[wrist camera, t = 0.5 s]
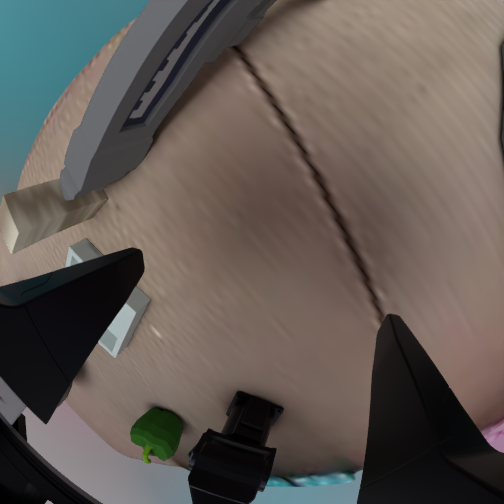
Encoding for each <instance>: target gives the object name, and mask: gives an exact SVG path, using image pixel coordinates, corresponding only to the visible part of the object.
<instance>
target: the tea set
mask: <svg viewBox="0 0 504 504" xmlns="http://www.w3.org/2000/svg"><path fill="white" fill-rule="evenodd" d="M502 55H503V69H504V43H503V47H502ZM501 139H502V144H503V149H504V113H503V128H502V138H501Z"/></svg>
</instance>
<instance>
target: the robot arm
mask: <svg viewBox="0 0 504 504" xmlns="http://www.w3.org/2000/svg"><path fill="white" fill-rule="evenodd" d="M144 269H145V267H144V260H143V253H142V251H141V250H140V249H137V248H128V249H125V250H121V251H118V252H114V253H111V254H108V255H104V256H101V257H98V258H94V259H91V260H88V261H85V262H81V263H78V264H75V265H72V266H69V267H65V268H62V269H59V270H56V271H54V272H50V273H47V274H44V275H40V276H37V277H34V278H30V279H27V280H23V281H20V282H16V283H12V284H9V285H5V286H1V287H0V504H45V503H46V501H47V500H49V501H51V502H52V503H53V504H102V503H101V502H99V501H98V500H96V499H95V498H93V497H92V496H90V495H89V494H88V493H86V492H85V491H83V490H82V489H81V488H79V487H78V486H77V485H75V484H74V483H73V482H71V481H70V480H69V479H68V478H66V477H65V476H64V475H62V474H61V473H60V472H59V471H58V470H57V469H55V468H54V467H53V466H52V465H51V464H50V463H48V462H47V461H46V460H45V459H44V458H43V457H42V456H41V455H40V454H39V453H38V452H37V451H35V449H34V448H32V447H31V446H30V445H29V444H28V443H27V435H26V423H25V416H24V415H23V414H22V412H23V411H24V409H25V408H26V407H28V408H29V409H30V410H31V411H32V412H33V413H34V414H35V415H36V416H37V417H38V418H39V419H40V420H41V421H43V422H44V423H45V424H47V423H48V421H49V420H50V418H51V416H52V414H53V413H54V411H55V409H56V408H57V406H58V404H59V403H60V401H61V399H62V398H63V396H64V394H65V393H66V391H67V389H68V388H69V386H70V383H72V381H73V379H74V378H75V376H76V375H77V373H78V372H79V370H80V368H81V367H82V365H83V364H84V362H85V361H86V359H87V358H88V356H89V355H90V353H91V352H92V350H93V349H94V347H95V346H96V344H97V343H98V341H99V340H100V339H101V337H102V336H103V334H104V333H105V331H106V330H107V328H108V327H109V326H110V324H111V323H112V321H113V320H114V319H115V317H116V316H117V314H118V313H119V312H120V310H121V309H122V308H123V306H124V305H125V303H126V302H127V300H128V298H129V297H130V295H131V293H132V292H133V290H134V288H135V287H136V285H137V283H138V282H139V280H140V278H141V277H142V275H143V273H144ZM283 410H284V409H283V408H282V407H279V406H276V405H274V404H271V403H268V402H265V401H263V400H260V399H258V398H255V397H252V396H250V395H247V394H245V393H242V392H237V393H236V395H235V397H234V399H233V401H232V403H231V405H230V407H229V409H228V411H227V413H226V415H227V416H229V417H228V419H227V421H226V423H225V426H224V428H223V430H222V432H221V433H219V432H216V431H213V430H212V429H208V430H207V432H205V433H203V435H202V437H201V439H200V440H199V442H198V443H197V444H196V446H195V447H194V448H193V449H192V450H191V451H190V452H189V454H188V457H189V459H190V461H189V469H191V472H190V474H189V476H188V481H189V487H190V492H191V497H192V502H193V504H250V503H251V502H252V501H253V500H254V499H255V496H256V494H257V491H261V492H263V491H264V489H265V487H266V484H267V482H268V479H269V476H270V473H271V470H272V466H273V462H274V458H275V454H276V450H277V449H276V448H269V447H265V445H266V442H267V439H268V436H269V432H270V429H271V426H272V425H273V424H274V423H275V422H276V420H277V419H278V418H279V417H280V415H281V414H282V413H283ZM357 504H504V453H502V452H499V451H497V450H496V449H494V448H493V447H492V446H491V445H490V444H489V443H488V442H487V441H486V439H485V438H484V436H483V435H482V433H481V432H480V431H479V429H478V428H477V426H476V425H475V424H474V422H473V421H472V419H471V418H470V417H469V415H468V414H467V412H466V411H465V410H464V408H463V407H462V405H461V404H460V402H459V401H458V399H457V398H456V396H455V395H454V393H453V391H452V390H451V388H449V385H448V384H447V382H446V381H445V379H444V378H443V376H442V375H441V373H440V372H439V370H438V369H437V367H436V366H435V364H434V363H433V361H432V360H431V359H430V357H429V356H428V354H427V353H426V351H425V350H424V349H423V347H422V346H421V344H420V343H419V342H418V340H417V339H416V337H415V336H414V335H413V333H412V332H411V331H410V329H409V328H408V327H407V325H406V324H405V323H404V321H403V320H402V319H401V317H400V316H399V315H395V314H387V316H386V317H385V319H384V321H383V323H382V325H381V327H380V328H379V330H378V333H377V338H376V347H375V355H374V363H373V370H372V381H371V401H370V416H369V427H368V437H367V446H366V453H365V461H364V467H363V474H362V480H361V485H360V490H359V495H358V500H357Z"/></svg>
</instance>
